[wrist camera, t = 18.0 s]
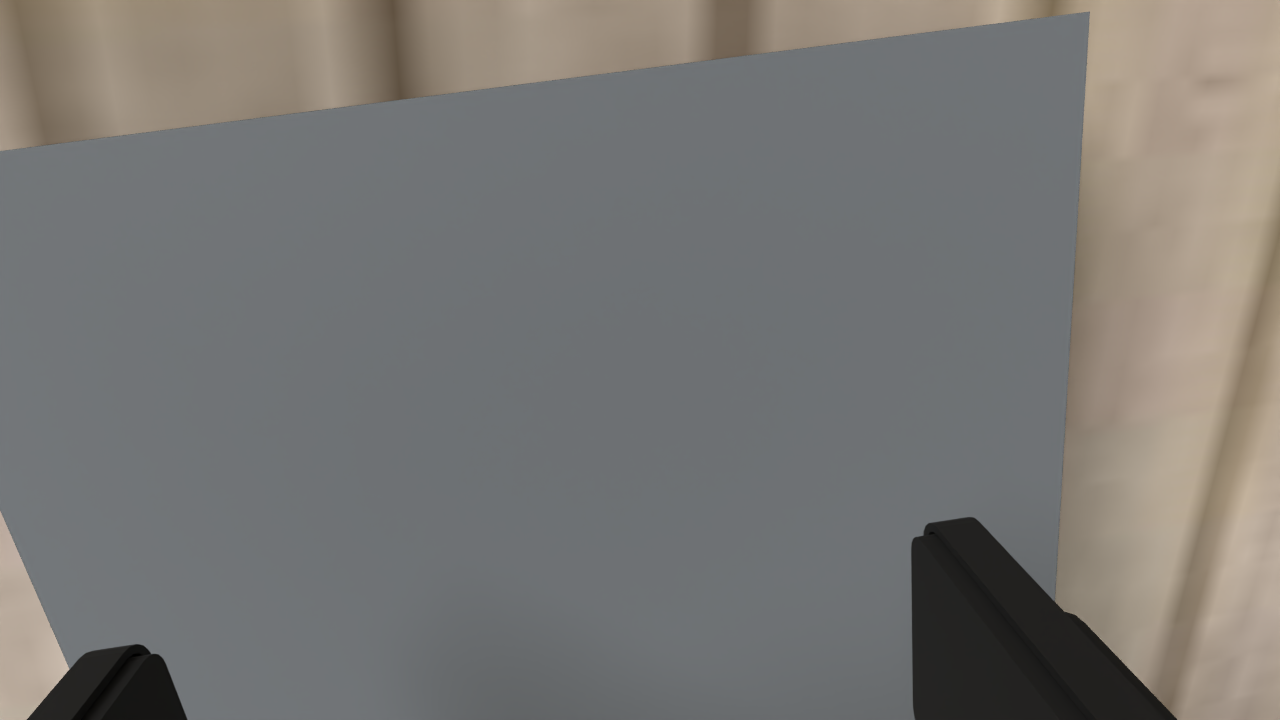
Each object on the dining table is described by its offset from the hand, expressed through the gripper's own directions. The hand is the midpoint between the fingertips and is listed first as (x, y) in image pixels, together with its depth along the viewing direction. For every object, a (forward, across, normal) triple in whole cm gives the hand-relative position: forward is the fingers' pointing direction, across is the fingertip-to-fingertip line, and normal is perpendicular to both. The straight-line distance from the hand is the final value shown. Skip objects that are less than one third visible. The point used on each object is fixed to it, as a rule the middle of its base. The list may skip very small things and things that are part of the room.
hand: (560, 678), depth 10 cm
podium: (+8, 0, 0) cm, 8 cm away
